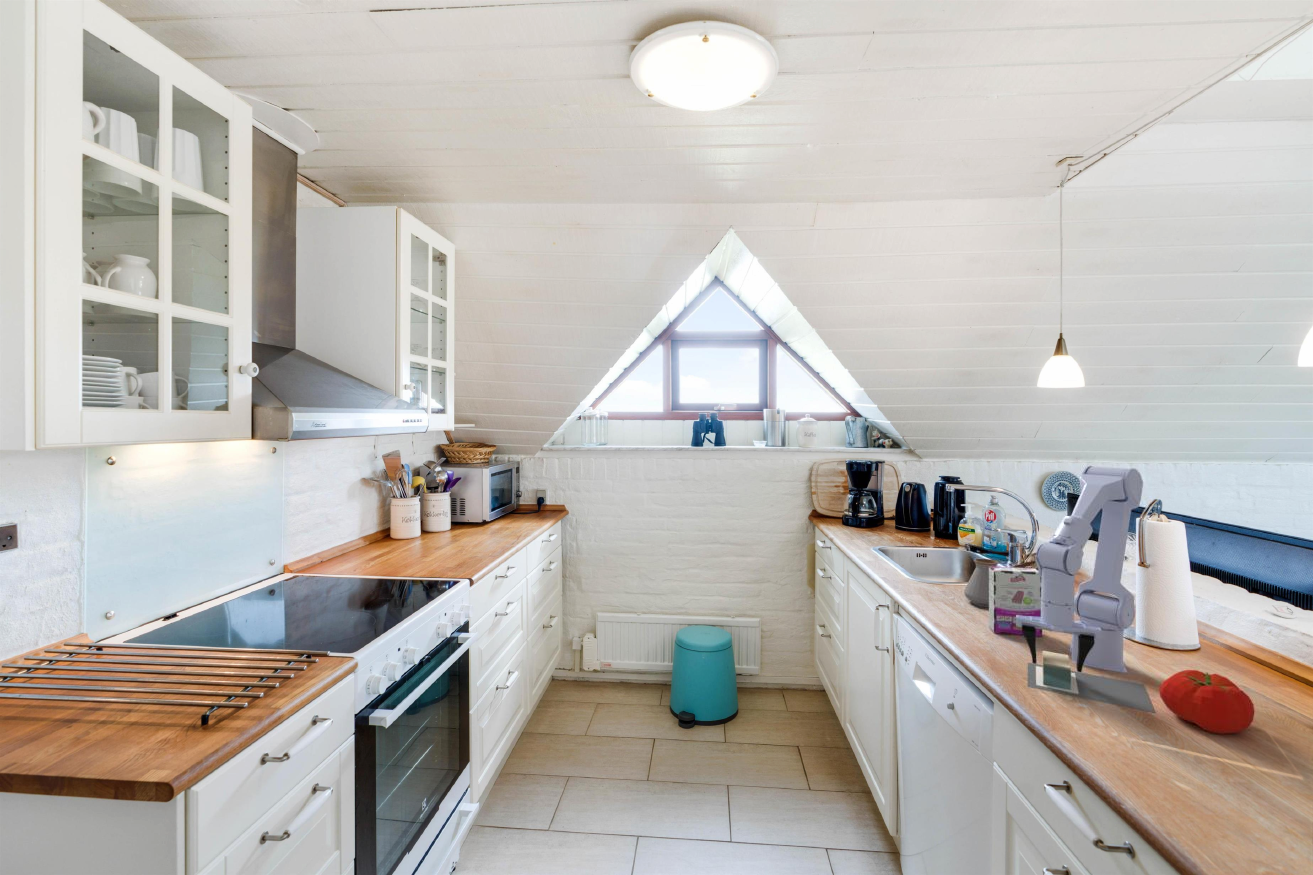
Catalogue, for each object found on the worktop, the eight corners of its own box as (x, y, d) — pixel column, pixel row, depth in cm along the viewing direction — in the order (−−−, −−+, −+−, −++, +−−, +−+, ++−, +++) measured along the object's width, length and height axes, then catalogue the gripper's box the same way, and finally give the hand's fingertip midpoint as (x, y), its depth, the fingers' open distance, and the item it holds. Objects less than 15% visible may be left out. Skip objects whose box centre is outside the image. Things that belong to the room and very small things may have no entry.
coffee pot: (965, 606, 171) (966, 556, 170) (961, 596, 181) (962, 548, 181) (1051, 616, 163) (1052, 562, 162) (1042, 604, 173) (1043, 554, 173)
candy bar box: (1034, 630, 151) (1036, 567, 151) (1042, 637, 146) (1043, 572, 146) (987, 626, 154) (988, 565, 154) (993, 633, 149) (994, 569, 149)
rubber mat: (1027, 688, 118) (1027, 685, 118) (1027, 664, 130) (1027, 661, 130) (1155, 714, 108) (1155, 712, 107) (1143, 686, 119) (1143, 683, 119)
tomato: (1157, 700, 113) (1158, 657, 113) (1248, 721, 105) (1249, 675, 105) (1160, 727, 103) (1161, 679, 103) (1260, 752, 95) (1261, 700, 95)
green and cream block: (1042, 668, 127) (1042, 650, 126) (1067, 673, 124) (1068, 654, 124) (1043, 684, 119) (1043, 665, 119) (1070, 689, 116) (1071, 670, 116)
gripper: (1016, 600, 122) (1015, 664, 122) (1103, 612, 114) (1102, 681, 114) (1016, 592, 128) (1015, 653, 128) (1099, 603, 120) (1098, 668, 120)
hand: (1056, 665), depth 121 cm, fingers open, 7 cm apart
